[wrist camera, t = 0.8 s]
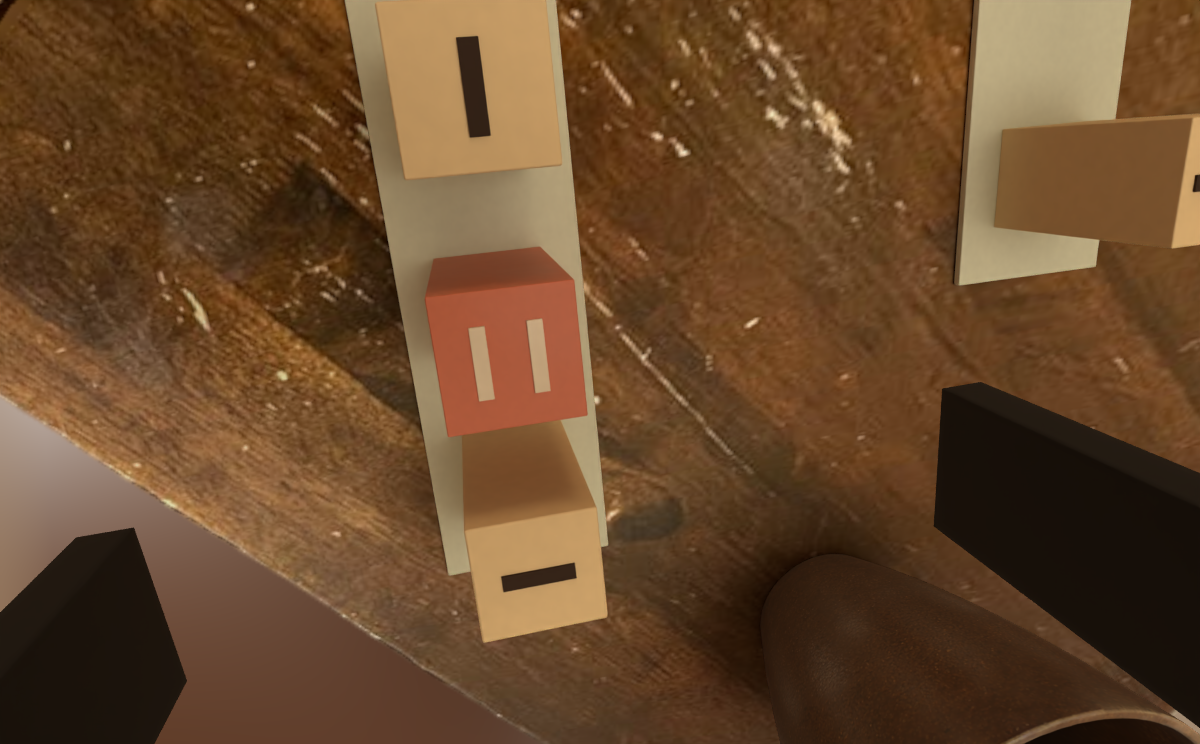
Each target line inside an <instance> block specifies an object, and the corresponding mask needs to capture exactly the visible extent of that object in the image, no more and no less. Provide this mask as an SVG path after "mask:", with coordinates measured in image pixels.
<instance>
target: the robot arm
mask: <svg viewBox="0 0 1200 744" xmlns="http://www.w3.org/2000/svg"><path fill="white" fill-rule="evenodd" d="M934 527H936V528H937V529H938V530H939V531H941V532H942V533H943V534H945V535H946V536H947V537H949V538H950V539H951V540H953V541H954V542H955V543H957V544H958V545H959V546H961V547H962V548H963V549H965V550H966V551H967V552H968V553H970V554H971V555H972V556H974V557H975V558H976V559H978V560H979V561H980V562H982V563H983V564H984V565H986V566H987V567H988V568H990V569H991V570H992V571H994V572H995V573H996V574H997V575H999V576H1000V577H1001V578H1003V579H1004V580H1005V581H1007V582H1008V583H1009V584H1011V585H1012V586H1013V587H1015V588H1016V589H1017V590H1019V591H1020V592H1021V593H1023V594H1024V595H1025V596H1026V597H1028V598H1029V599H1030V600H1032V601H1033V602H1034V603H1036V604H1037V605H1038V606H1040V607H1041V608H1042V609H1044V610H1045V611H1046V612H1048V613H1049V614H1050V615H1052V616H1053V617H1054V618H1055V619H1057V620H1058V621H1059V622H1061V623H1062V624H1063V625H1065V626H1066V627H1067V628H1069V629H1070V630H1071V631H1073V632H1074V633H1075V634H1077V635H1078V636H1079V637H1081V638H1082V639H1083V640H1084V641H1086V642H1087V643H1088V644H1090V645H1091V646H1092V647H1094V648H1095V649H1096V650H1098V651H1099V652H1100V653H1102V654H1103V655H1104V656H1106V657H1107V658H1108V659H1110V660H1111V661H1112V662H1114V663H1115V664H1116V665H1117V666H1119V667H1120V668H1121V669H1123V670H1124V671H1125V672H1127V673H1128V674H1129V675H1131V676H1132V677H1133V678H1135V679H1136V680H1137V681H1139V682H1140V683H1141V684H1143V685H1144V686H1145V687H1146V688H1148V689H1149V690H1150V691H1152V692H1153V693H1154V694H1156V695H1157V696H1158V697H1160V698H1161V699H1162V700H1164V701H1165V702H1166V703H1168V704H1169V705H1170V706H1172V707H1173V708H1174V709H1175V710H1177V711H1178V712H1179V713H1181V714H1182V715H1183V716H1185V717H1186V718H1187V719H1189V720H1190V721H1191V722H1193V723H1194V724H1195V725H1197V726H1198V727H1199V728H1200V473H1198V472H1196V471H1193V470H1191V469H1188V468H1186V467H1184V466H1181V465H1179V464H1176V463H1174V462H1172V461H1169V460H1167V459H1164V458H1162V457H1160V456H1157V455H1155V454H1152V453H1150V452H1148V451H1145V450H1143V449H1140V448H1138V447H1136V446H1133V445H1131V444H1128V443H1126V442H1124V441H1121V440H1119V439H1116V438H1114V437H1112V436H1109V435H1107V434H1104V433H1102V432H1100V431H1097V430H1095V429H1092V428H1090V427H1088V426H1085V425H1083V424H1080V423H1078V422H1076V421H1073V420H1071V419H1068V418H1066V417H1064V416H1061V415H1059V414H1056V413H1054V412H1052V411H1049V410H1047V409H1044V408H1042V407H1040V406H1037V405H1035V404H1032V403H1030V402H1028V401H1025V400H1023V399H1020V398H1018V397H1016V396H1013V395H1011V394H1008V393H1006V392H1004V391H1001V390H999V389H996V388H994V387H992V386H989V385H987V384H984V383H982V382H978V383H973V384H967V385H961V386H955V387H949V388H943V389H942V401H941V417H940V434H939V450H938V466H937V483H936V499H935V515H934ZM186 682H187V680H186V677H185V674H184V671H183V668H182V665H181V662H180V659H179V656H178V654H177V651H176V648H175V645H174V642H173V639H172V636H171V633H170V631H169V627H168V625H167V622H166V619H165V616H164V613H163V610H162V608H161V604H160V602H159V599H158V596H157V593H156V590H155V587H154V584H153V581H152V579H151V575H150V573H149V570H148V567H147V564H146V561H145V558H144V555H143V552H142V549H141V547H140V544H139V541H138V538H137V535H136V533H135V529H134V528H129V529H123V530H118V531H111V532H105V533H100V534H94V535H88V536H82V537H77V538H75V539H74V540H73V541H72V542H71V543H70V544H69V545H68V546H67V547H66V548H65V549H64V550H63V551H62V552H61V553H60V554H59V555H58V556H57V557H56V558H55V559H54V560H53V561H52V562H51V563H50V564H49V565H48V566H47V567H46V568H45V569H44V570H43V571H42V572H41V573H40V574H39V575H38V576H37V577H36V578H35V579H34V580H33V581H32V582H31V583H30V584H29V585H28V586H27V587H26V588H25V589H24V590H23V591H22V592H21V593H20V594H18V596H17V597H15V598H14V600H12V601H11V603H9V604H8V605H7V606H6V607H5V608H4V609H3V610H2V611H1V612H0V744H154V743H155V741H156V740H157V738H158V736H159V734H160V732H161V730H162V728H163V726H164V724H165V722H166V720H167V718H168V716H169V715H170V713H171V711H172V709H173V707H174V705H175V703H176V701H177V699H178V697H179V695H180V693H181V691H182V689H183V687H184V685H185V684H186Z"/></svg>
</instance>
